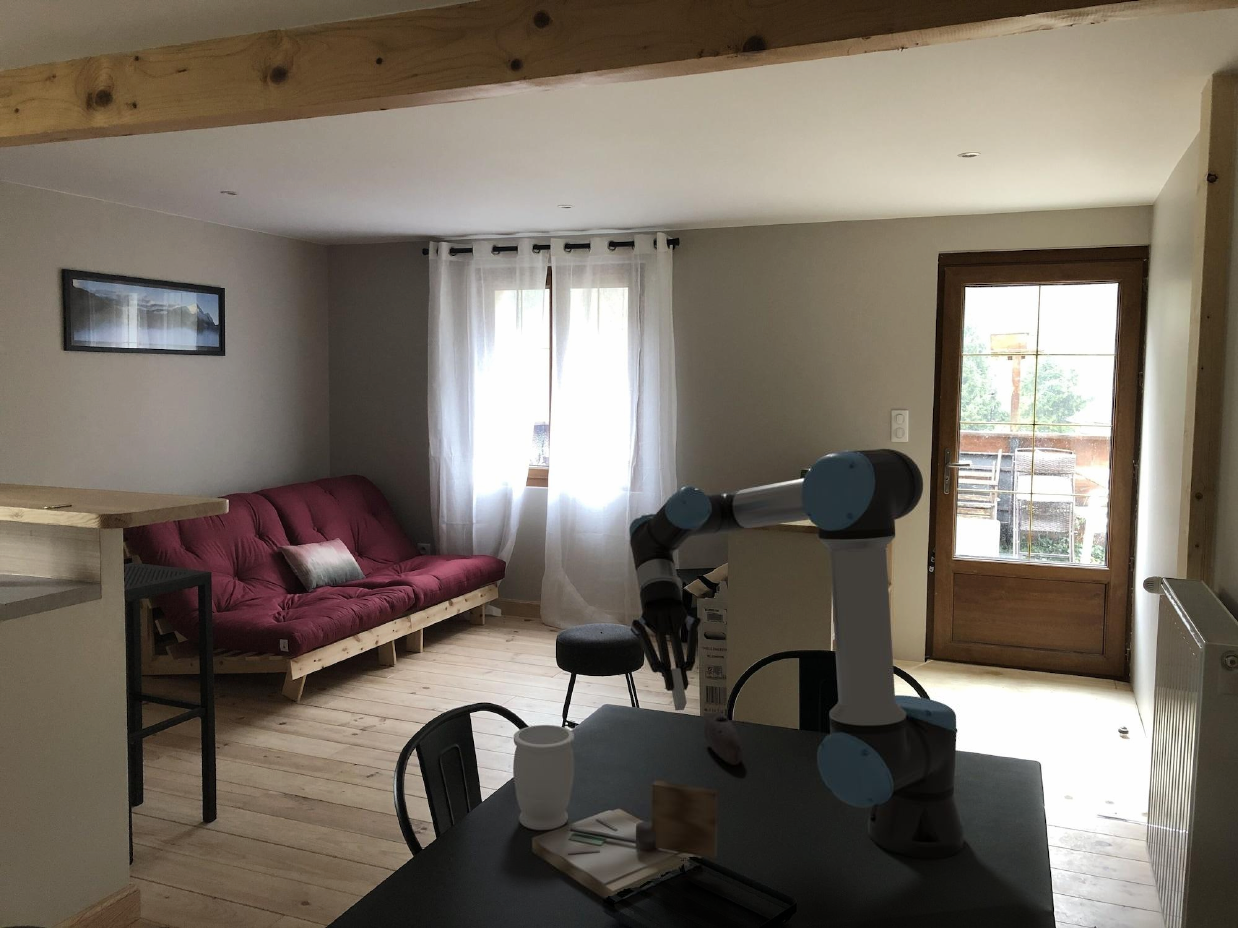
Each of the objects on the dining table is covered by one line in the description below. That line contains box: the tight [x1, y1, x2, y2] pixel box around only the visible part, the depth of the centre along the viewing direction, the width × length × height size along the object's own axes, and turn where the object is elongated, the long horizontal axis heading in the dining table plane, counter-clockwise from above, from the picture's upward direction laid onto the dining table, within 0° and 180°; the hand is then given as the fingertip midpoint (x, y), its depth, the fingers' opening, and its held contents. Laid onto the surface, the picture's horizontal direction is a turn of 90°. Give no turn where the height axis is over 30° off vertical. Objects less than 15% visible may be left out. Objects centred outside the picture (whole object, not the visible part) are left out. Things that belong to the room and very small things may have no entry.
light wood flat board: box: [531, 808, 703, 900], centre depth 150 cm, size 20×18×2 cm
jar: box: [512, 724, 575, 831], centre depth 163 cm, size 11×10×15 cm
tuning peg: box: [570, 780, 719, 859], centre depth 149 cm, size 24×4×10 cm, turn 70°
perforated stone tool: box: [703, 712, 743, 766], centre depth 192 cm, size 15×5×7 cm, turn 11°
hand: (680, 706), depth 162 cm, fingers closed
